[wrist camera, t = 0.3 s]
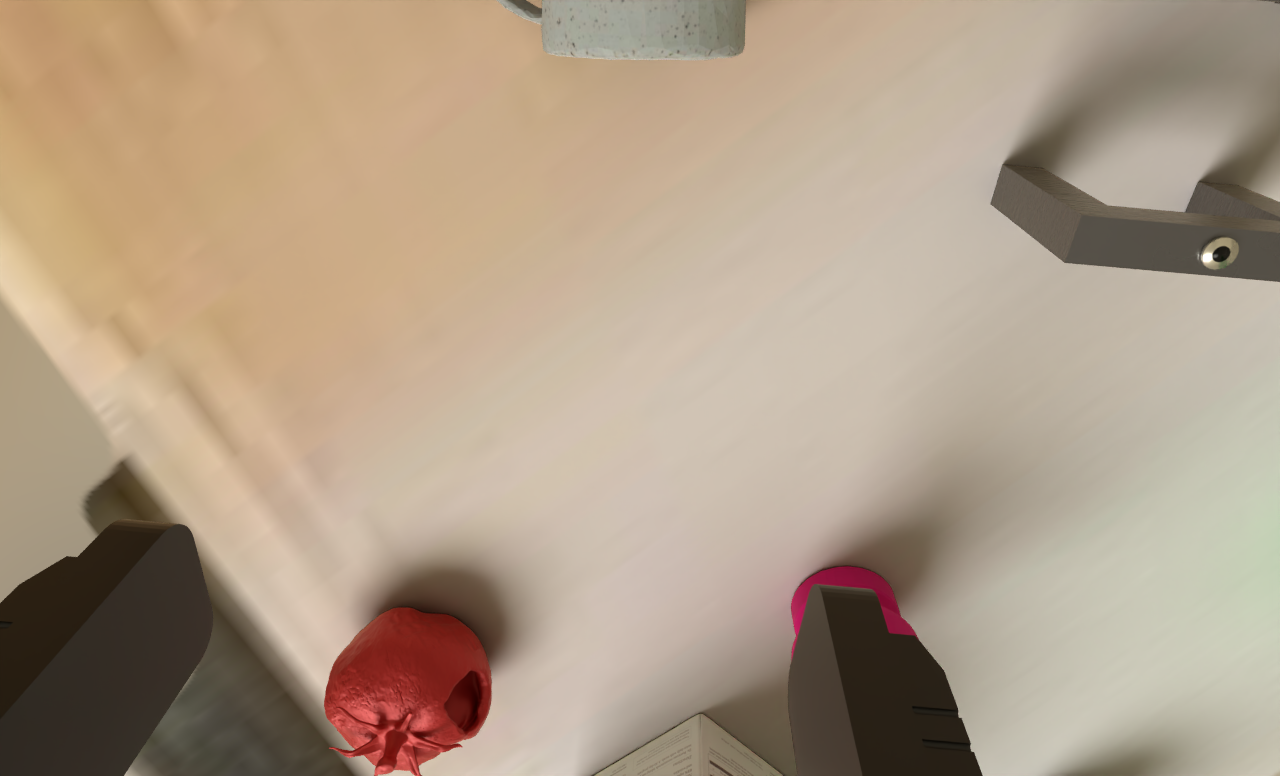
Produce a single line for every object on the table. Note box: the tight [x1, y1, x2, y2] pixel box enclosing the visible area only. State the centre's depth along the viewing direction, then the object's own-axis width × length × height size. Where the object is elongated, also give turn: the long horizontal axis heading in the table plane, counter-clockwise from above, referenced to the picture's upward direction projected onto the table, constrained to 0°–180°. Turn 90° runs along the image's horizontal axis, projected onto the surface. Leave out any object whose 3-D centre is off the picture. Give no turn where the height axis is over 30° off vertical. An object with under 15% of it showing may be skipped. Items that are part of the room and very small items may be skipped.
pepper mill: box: [791, 566, 919, 661], centre depth 39 cm, size 7×7×20 cm
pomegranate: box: [324, 607, 492, 776], centre depth 47 cm, size 10×10×9 cm
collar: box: [991, 165, 1280, 282], centre depth 32 cm, size 2×11×8 cm, turn 85°
